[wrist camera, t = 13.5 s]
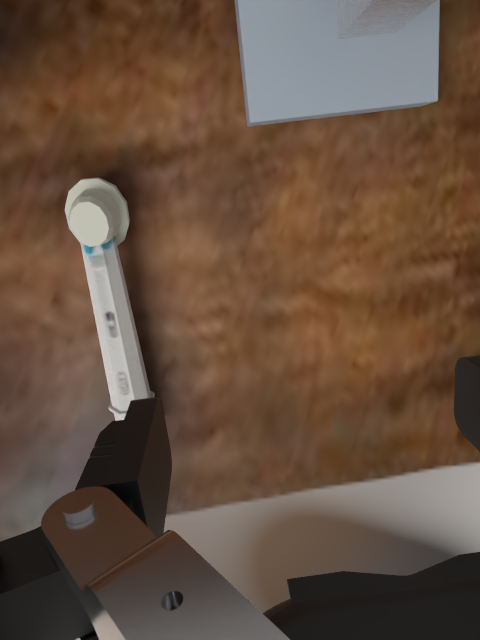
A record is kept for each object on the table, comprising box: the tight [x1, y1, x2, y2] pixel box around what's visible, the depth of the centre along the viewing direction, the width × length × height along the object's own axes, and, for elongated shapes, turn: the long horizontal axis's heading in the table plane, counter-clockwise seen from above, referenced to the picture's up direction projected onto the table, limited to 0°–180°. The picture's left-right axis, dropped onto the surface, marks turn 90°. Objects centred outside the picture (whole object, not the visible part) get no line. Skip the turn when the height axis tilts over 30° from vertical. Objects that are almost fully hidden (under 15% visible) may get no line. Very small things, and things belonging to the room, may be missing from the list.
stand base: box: [235, 0, 440, 127], centre depth 34 cm, size 16×12×10 cm
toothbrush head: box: [65, 178, 155, 421], centre depth 43 cm, size 5×7×25 cm
